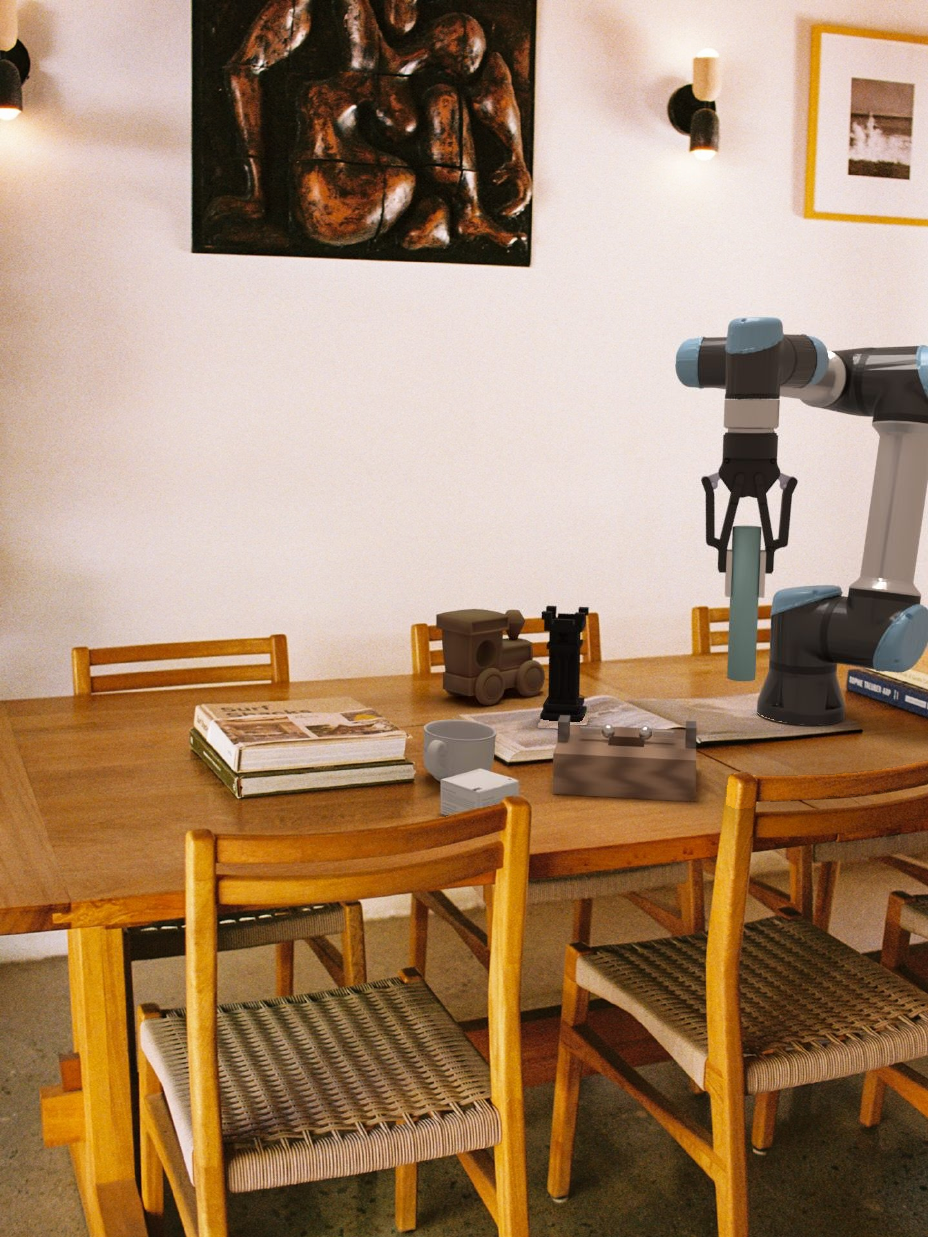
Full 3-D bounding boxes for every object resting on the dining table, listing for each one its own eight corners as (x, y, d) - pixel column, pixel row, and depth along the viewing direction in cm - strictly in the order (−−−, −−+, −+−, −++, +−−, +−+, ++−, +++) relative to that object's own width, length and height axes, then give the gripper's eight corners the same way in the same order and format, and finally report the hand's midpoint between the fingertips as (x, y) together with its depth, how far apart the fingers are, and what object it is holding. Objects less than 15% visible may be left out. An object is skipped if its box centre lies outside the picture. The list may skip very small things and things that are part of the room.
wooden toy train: (472, 711, 225) (473, 620, 222) (432, 699, 234) (432, 612, 231) (551, 694, 238) (552, 608, 235) (510, 684, 247) (510, 600, 244)
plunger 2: (673, 739, 184) (674, 726, 183) (673, 742, 182) (673, 729, 181) (638, 737, 184) (638, 724, 184) (638, 741, 183) (638, 728, 182)
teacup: (454, 764, 193) (455, 714, 192) (510, 778, 186) (511, 726, 185) (393, 786, 182) (393, 732, 181) (450, 801, 176) (450, 746, 174)
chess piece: (584, 730, 212) (586, 614, 209) (537, 728, 214) (538, 612, 210) (588, 719, 220) (591, 606, 217) (543, 716, 222) (545, 605, 218)
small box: (480, 802, 176) (480, 767, 175) (520, 816, 170) (520, 779, 169) (438, 814, 171) (438, 778, 170) (478, 829, 165) (478, 792, 164)
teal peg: (754, 675, 183) (760, 525, 179) (756, 681, 179) (762, 528, 175) (726, 674, 184) (732, 525, 180) (727, 680, 180) (733, 528, 176)
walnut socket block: (693, 768, 191) (695, 711, 189) (694, 801, 176) (697, 739, 174) (562, 761, 194) (563, 705, 193) (552, 793, 179) (553, 732, 177)
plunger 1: (615, 736, 185) (615, 723, 185) (614, 740, 183) (614, 726, 183) (580, 734, 186) (581, 721, 186) (579, 738, 184) (580, 725, 184)
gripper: (810, 430, 177) (803, 593, 182) (688, 429, 180) (683, 590, 185) (816, 432, 170) (808, 601, 174) (689, 431, 173) (684, 598, 177)
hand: (744, 595), depth 179 cm, fingers closed on teal peg, 4 cm apart
